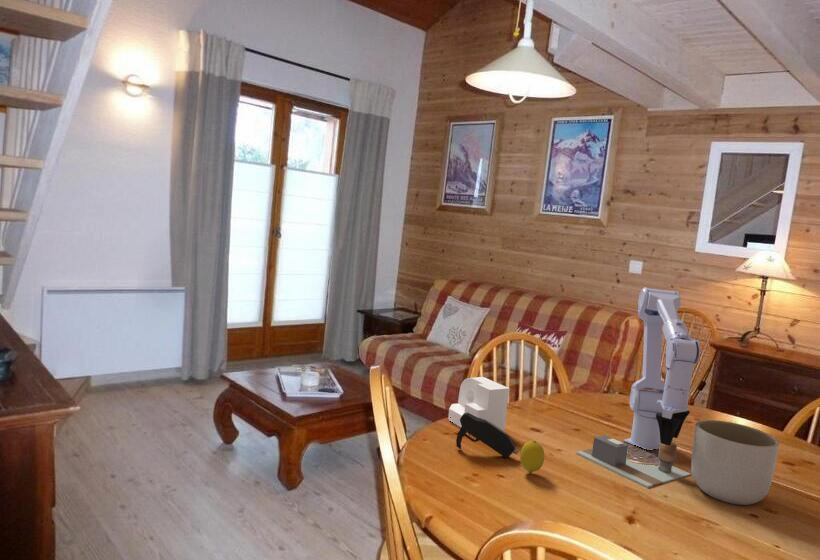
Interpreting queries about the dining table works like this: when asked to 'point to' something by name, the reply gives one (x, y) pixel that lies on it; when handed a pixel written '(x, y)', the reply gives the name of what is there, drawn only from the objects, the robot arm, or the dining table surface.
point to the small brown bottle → (666, 457)
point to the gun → (485, 434)
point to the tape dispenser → (481, 401)
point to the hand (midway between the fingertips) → (669, 440)
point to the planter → (733, 461)
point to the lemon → (532, 456)
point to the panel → (638, 471)
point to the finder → (610, 450)
